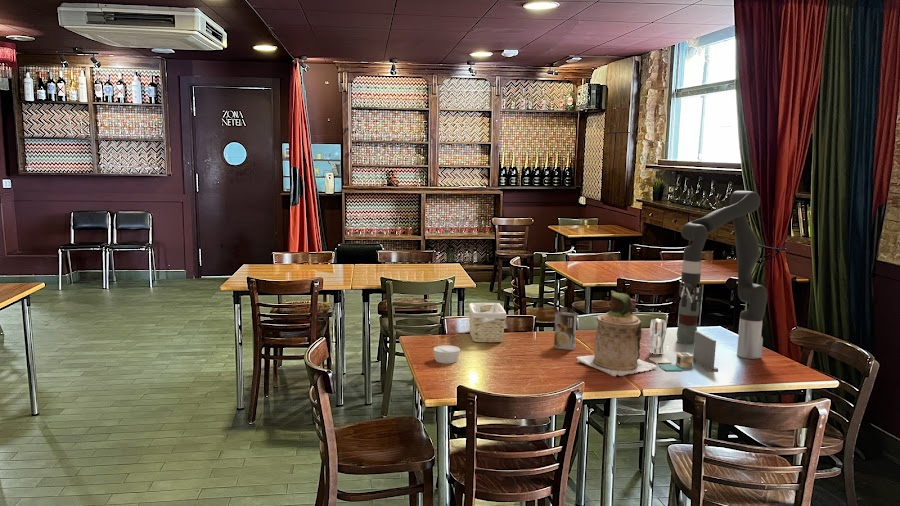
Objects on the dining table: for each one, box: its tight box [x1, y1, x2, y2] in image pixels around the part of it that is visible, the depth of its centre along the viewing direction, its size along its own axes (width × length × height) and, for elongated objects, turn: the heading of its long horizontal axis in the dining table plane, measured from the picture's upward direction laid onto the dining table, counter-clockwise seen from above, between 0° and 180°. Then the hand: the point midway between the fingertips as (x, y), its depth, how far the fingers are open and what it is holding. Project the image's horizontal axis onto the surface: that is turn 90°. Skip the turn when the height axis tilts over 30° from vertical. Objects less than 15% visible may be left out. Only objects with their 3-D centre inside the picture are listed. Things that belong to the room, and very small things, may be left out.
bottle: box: [676, 296, 700, 345], centre depth 324 cm, size 9×9×30 cm
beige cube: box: [675, 352, 694, 368], centre depth 287 cm, size 5×5×5 cm
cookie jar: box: [576, 290, 657, 377], centre depth 282 cm, size 25×25×32 cm
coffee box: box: [553, 311, 578, 351], centre depth 309 cm, size 9×6×16 cm
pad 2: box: [658, 364, 683, 372], centre depth 282 cm, size 7×7×1 cm
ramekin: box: [432, 344, 461, 365], centre depth 286 cm, size 11×11×5 cm
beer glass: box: [649, 318, 667, 355], centre depth 304 cm, size 7×7×15 cm
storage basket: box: [468, 302, 507, 343], centre depth 325 cm, size 24×16×15 cm
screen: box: [692, 330, 719, 372], centre depth 287 cm, size 5×16×13 cm, turn 7°
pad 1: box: [648, 357, 672, 365], centre depth 292 cm, size 7×7×1 cm
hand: (688, 309), depth 284 cm, fingers open, 8 cm apart
